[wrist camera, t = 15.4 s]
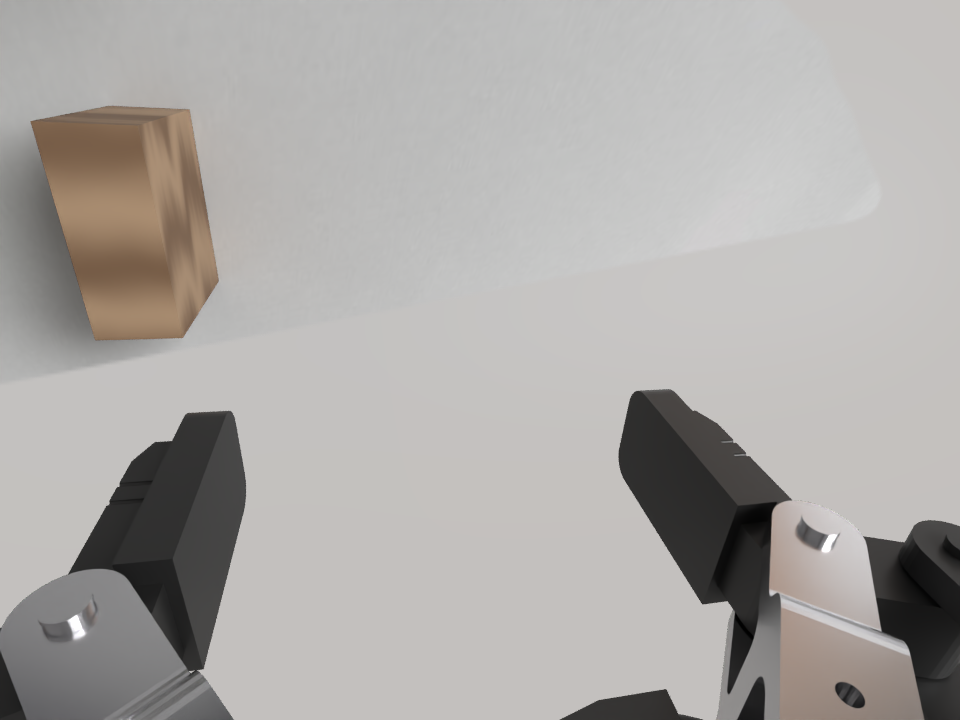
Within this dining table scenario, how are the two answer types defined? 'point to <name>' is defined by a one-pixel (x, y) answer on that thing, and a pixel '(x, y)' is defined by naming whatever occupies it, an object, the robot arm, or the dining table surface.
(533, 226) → the dining table surface
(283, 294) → the dining table surface
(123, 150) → the box
